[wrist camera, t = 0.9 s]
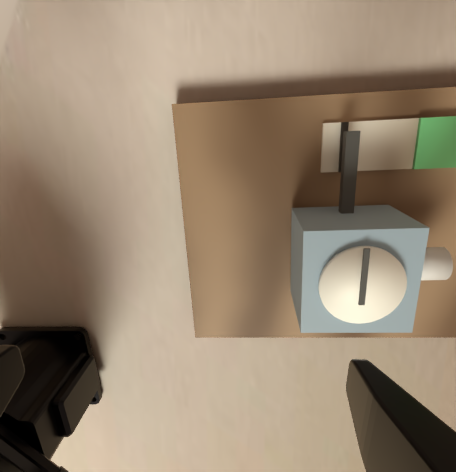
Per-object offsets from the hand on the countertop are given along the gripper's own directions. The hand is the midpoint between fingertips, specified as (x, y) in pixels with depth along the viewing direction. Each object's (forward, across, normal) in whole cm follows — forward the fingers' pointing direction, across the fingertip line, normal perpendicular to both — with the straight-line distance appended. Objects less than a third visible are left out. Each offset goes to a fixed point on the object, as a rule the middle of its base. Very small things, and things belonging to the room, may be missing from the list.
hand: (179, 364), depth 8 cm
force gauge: (+10, -8, -2) cm, 12 cm away
